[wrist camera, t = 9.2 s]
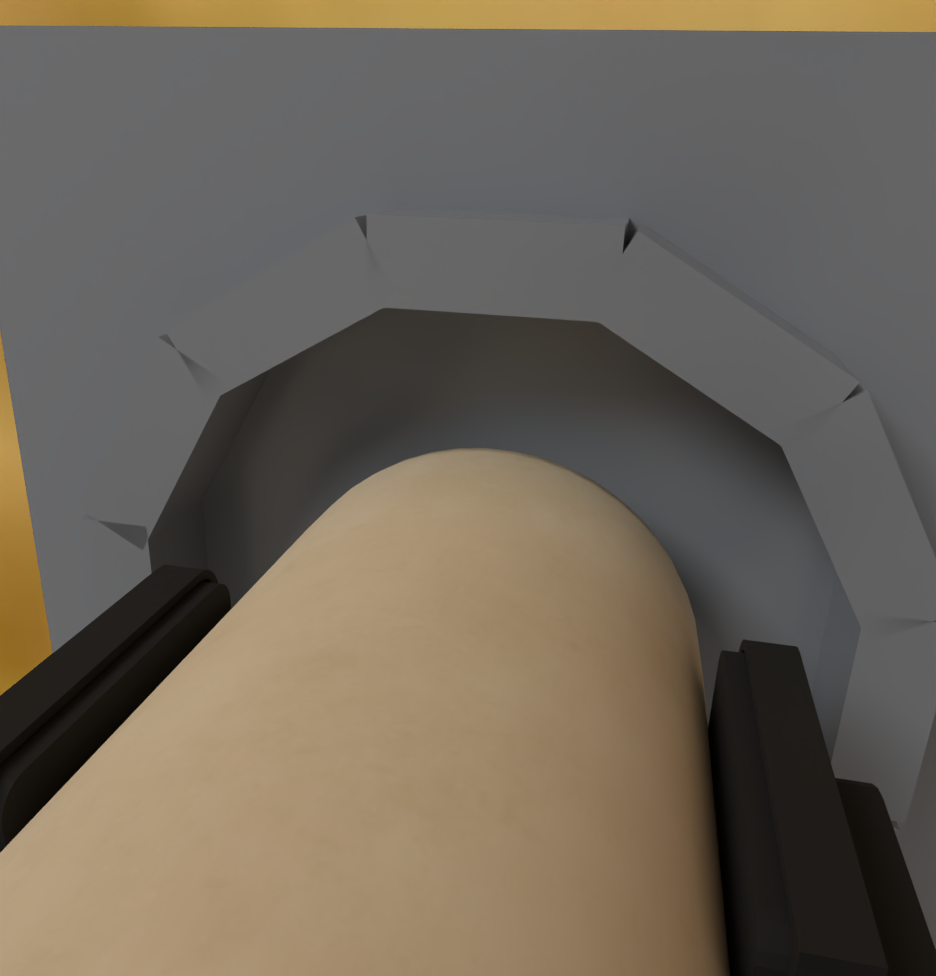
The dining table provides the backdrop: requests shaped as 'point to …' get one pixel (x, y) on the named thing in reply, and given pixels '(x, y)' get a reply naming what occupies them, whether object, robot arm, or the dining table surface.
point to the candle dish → (496, 316)
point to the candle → (405, 758)
